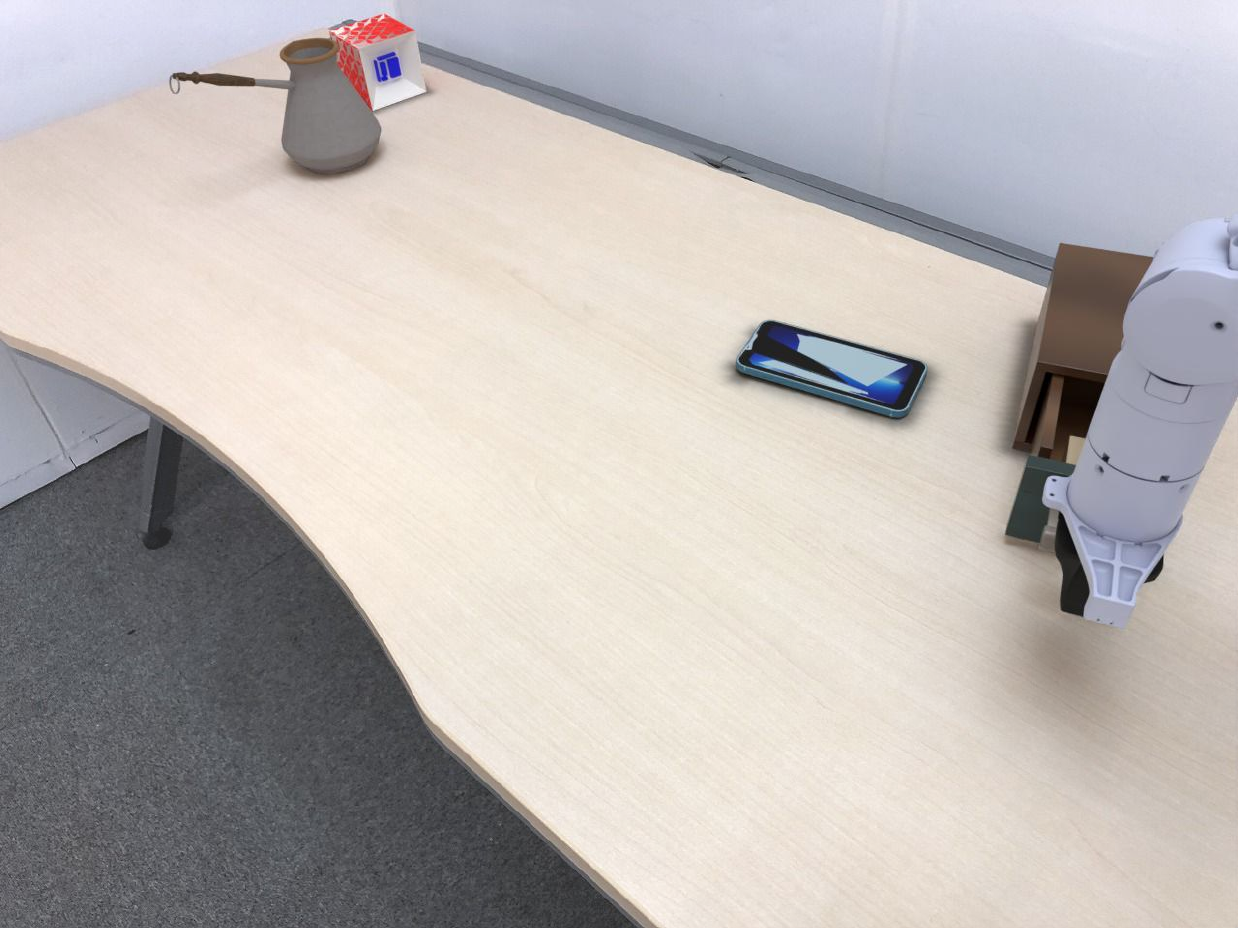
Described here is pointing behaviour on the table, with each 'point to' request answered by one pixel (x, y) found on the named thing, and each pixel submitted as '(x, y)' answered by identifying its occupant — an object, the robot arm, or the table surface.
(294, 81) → the coffee pot
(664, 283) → the table surface
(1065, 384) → the drawer
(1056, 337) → the cabinet
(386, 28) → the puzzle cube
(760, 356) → the smartphone
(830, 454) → the table surface
